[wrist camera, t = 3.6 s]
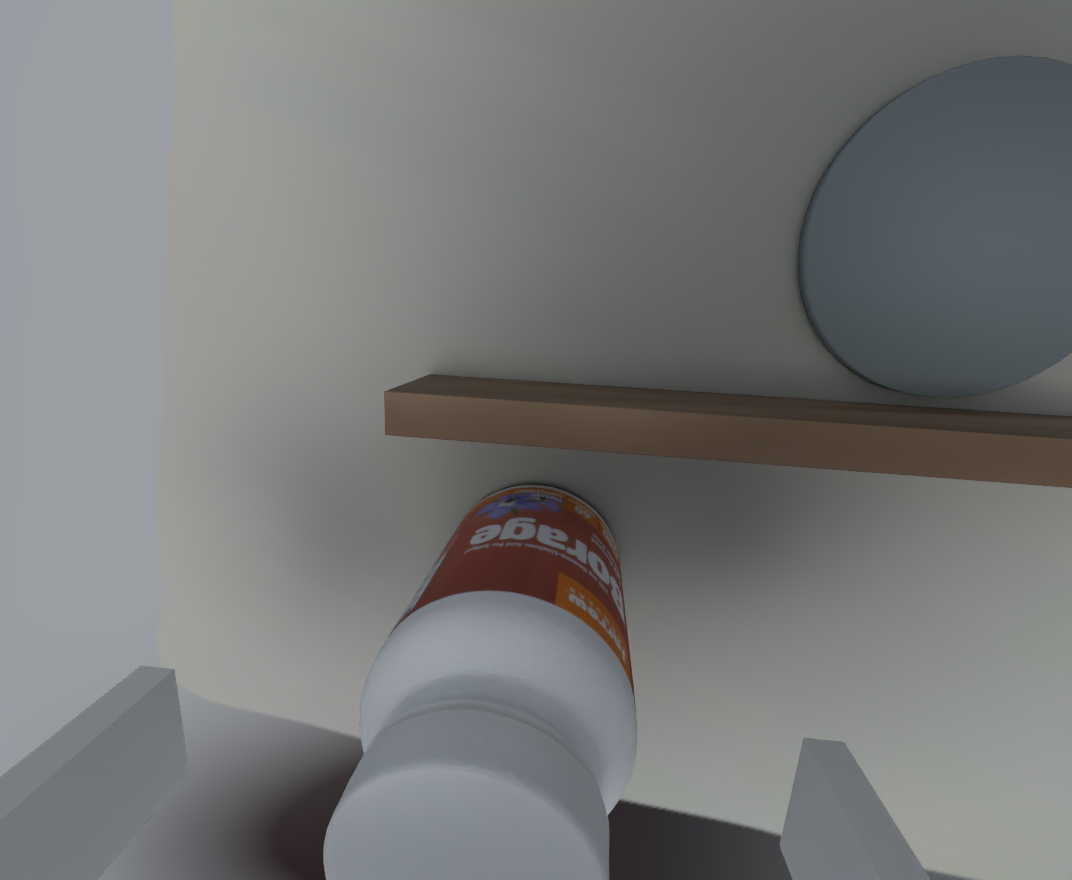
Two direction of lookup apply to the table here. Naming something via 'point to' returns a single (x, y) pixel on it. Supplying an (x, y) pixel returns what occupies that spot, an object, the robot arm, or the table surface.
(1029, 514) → the table surface
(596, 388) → the divider rail
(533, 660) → the pill bottle
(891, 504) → the table surface
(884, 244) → the slate pad
